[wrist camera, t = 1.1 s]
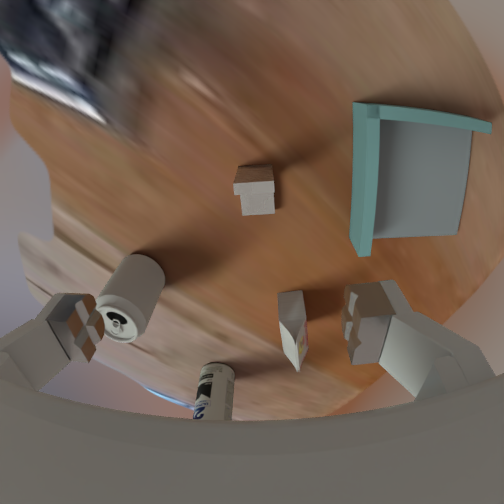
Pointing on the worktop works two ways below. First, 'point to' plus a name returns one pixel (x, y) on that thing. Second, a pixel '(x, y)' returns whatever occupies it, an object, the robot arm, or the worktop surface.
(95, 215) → the worktop surface
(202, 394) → the spray can
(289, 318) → the milk carton
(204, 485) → the robot arm
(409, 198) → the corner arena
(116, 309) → the can
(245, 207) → the bracket
